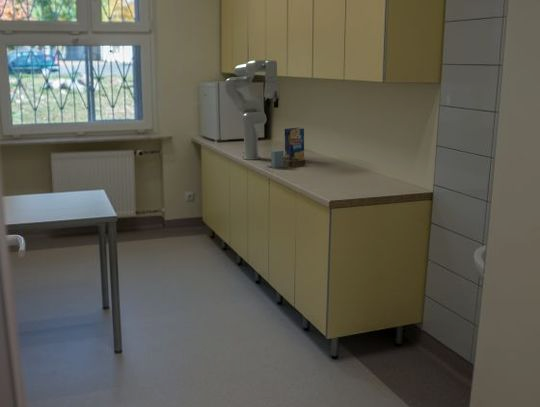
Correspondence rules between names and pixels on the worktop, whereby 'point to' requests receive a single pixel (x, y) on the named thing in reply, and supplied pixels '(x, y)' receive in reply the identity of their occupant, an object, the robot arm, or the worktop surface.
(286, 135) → the blue printed long box
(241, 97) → the robot arm
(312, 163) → the worktop surface
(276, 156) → the tall pale blue pillar
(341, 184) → the worktop surface
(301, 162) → the rack
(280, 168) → the mat
